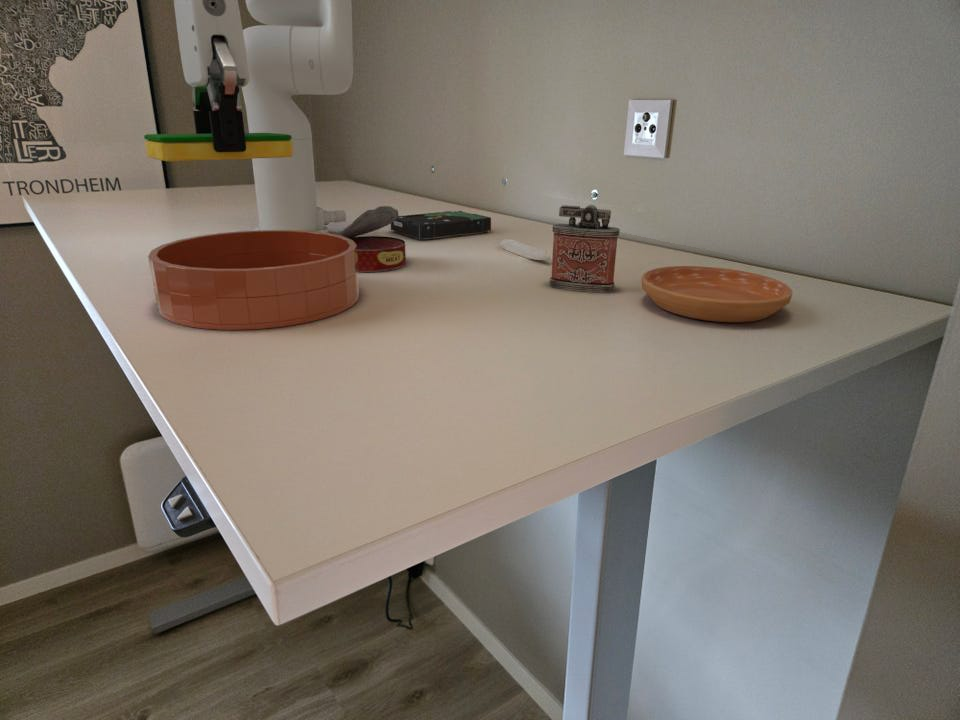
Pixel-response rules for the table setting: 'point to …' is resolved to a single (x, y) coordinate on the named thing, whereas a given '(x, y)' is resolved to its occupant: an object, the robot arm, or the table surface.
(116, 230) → the table surface
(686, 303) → the saucer
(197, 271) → the basin
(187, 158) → the dish sponge
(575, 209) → the lighter
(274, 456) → the table surface
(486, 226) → the disk drive
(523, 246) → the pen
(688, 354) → the table surface
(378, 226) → the canned food
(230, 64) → the robot arm
